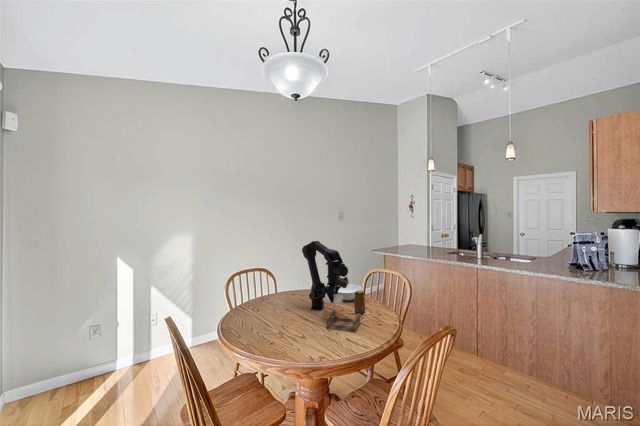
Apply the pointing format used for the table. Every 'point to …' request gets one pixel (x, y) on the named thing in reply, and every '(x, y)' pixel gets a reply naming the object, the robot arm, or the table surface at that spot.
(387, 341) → the table surface
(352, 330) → the cradle
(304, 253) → the robot arm
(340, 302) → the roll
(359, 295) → the condiment
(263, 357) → the table surface
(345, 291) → the serving bowl
